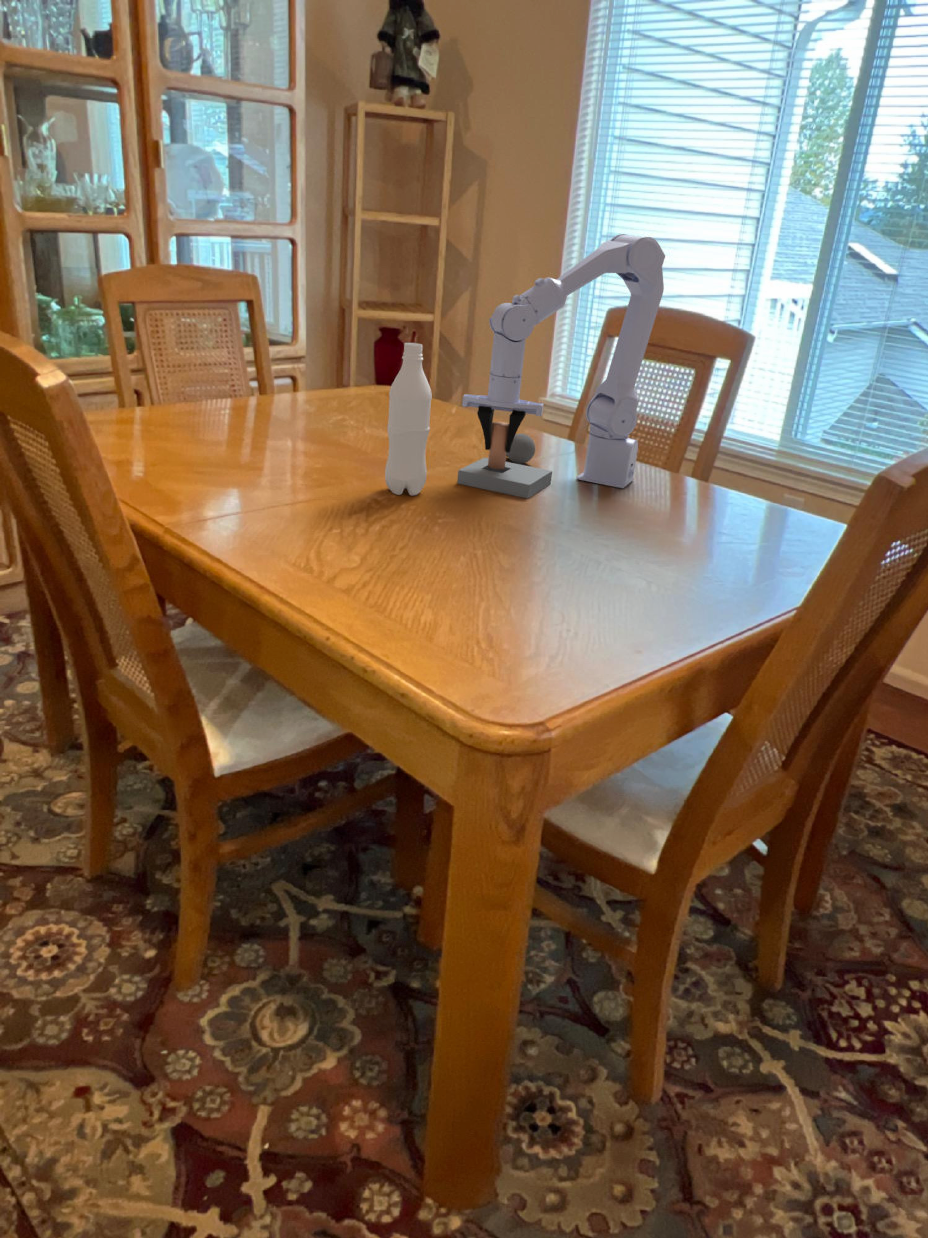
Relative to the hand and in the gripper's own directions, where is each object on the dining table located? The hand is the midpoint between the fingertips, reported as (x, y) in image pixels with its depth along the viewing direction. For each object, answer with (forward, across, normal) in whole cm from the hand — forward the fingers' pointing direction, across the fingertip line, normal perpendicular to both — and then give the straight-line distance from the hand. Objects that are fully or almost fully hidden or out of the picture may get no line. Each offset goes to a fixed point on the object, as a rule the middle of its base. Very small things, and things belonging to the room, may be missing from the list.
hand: (498, 449), depth 164 cm
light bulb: (+5, +2, -21) cm, 21 cm away
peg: (+3, 0, 0) cm, 3 cm away
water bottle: (+6, +14, +14) cm, 21 cm away
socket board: (+6, -2, 0) cm, 6 cm away
